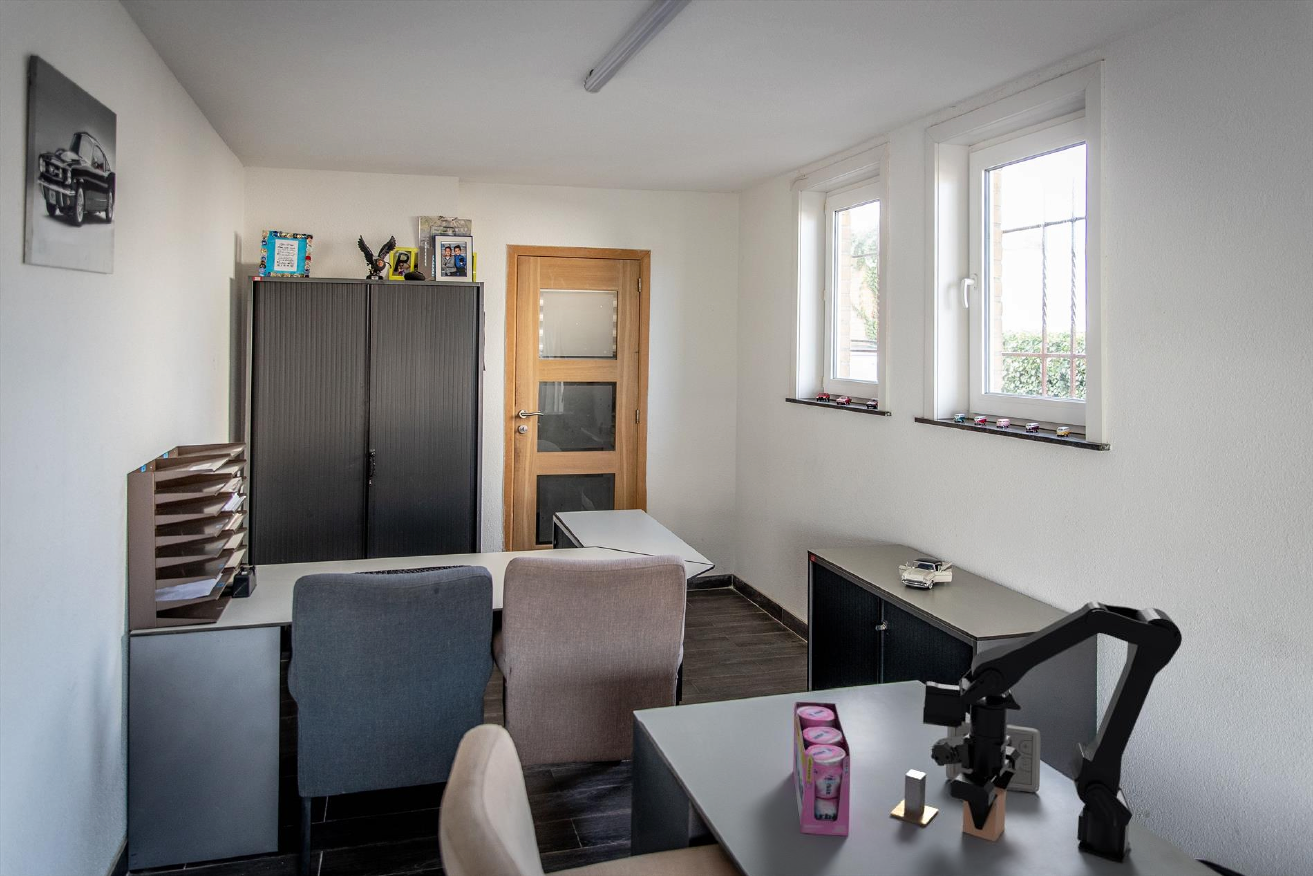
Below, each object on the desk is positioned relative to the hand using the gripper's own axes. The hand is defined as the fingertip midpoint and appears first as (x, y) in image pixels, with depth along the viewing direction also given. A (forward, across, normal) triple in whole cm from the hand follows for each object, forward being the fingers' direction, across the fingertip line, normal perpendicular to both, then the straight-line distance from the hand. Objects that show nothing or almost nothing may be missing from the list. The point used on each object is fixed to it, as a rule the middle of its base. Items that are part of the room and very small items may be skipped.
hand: (983, 822), depth 150 cm
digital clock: (+2, -18, -4) cm, 18 cm away
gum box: (+2, +8, -26) cm, 27 cm away
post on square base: (+1, +2, -11) cm, 11 cm away
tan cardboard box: (+1, 0, 0) cm, 1 cm away
